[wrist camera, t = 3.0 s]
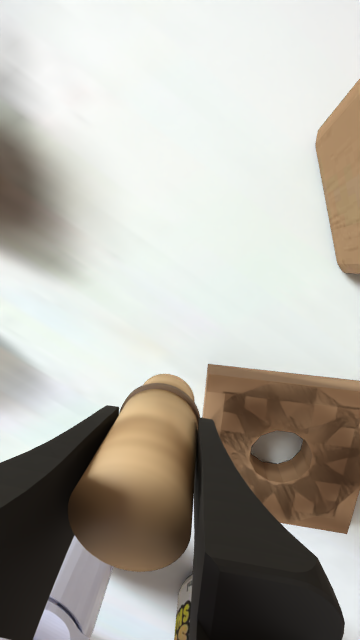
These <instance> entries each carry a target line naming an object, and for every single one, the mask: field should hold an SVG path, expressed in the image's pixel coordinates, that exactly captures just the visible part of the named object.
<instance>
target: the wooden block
mask: <svg viewBox="0 0 360 640" xmlns="http://www.w3.org/2000/svg"><path fill="white" fill-rule="evenodd" d="M316 152H317V157H318V162H319V168H320V173H321V178H322V184H323V189H324V195H325V200H326V205H327V211H328V216H329V221H330V227H331V232H332V237H333V243H334V248H335V254H336V259H337V263H338V265H339V267H340V268H341V270H342V271H343V272H344V273H353V274H360V79H359V80H358V81H357V83H356V84H355V85H354V86H353V88H352V89H351V90H350V91H349V93H348V94H347V95H346V96H345V98H344V99H343V100H342V101H341V103H340V104H339V105H338V106H337V108H336V109H335V110H334V111H333V112H332V114H331V115H330V116H329V117H328V119H327V120H326V121H325V122H324V124H323V125H322V126H321V127H320V129H319V130H318V133H317V139H316Z"/></svg>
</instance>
